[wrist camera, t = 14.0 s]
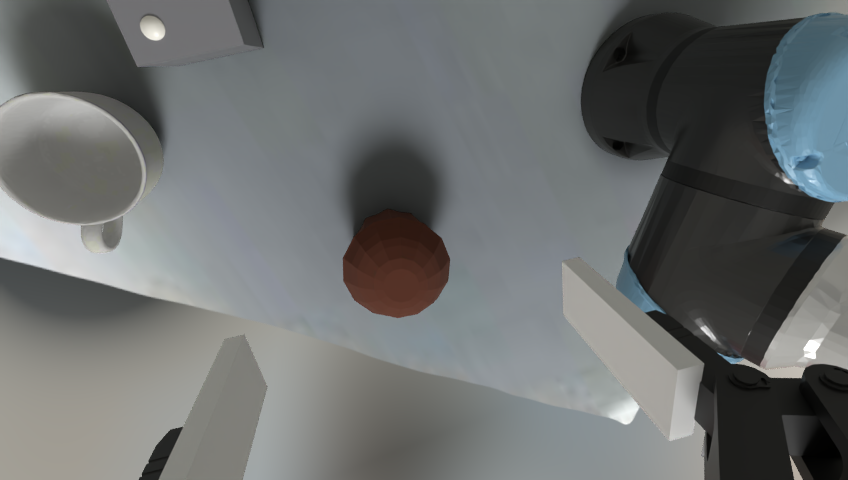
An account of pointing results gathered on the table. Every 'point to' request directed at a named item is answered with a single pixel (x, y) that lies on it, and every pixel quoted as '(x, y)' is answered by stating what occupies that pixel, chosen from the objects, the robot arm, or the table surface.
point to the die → (185, 30)
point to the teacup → (78, 160)
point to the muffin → (395, 265)
